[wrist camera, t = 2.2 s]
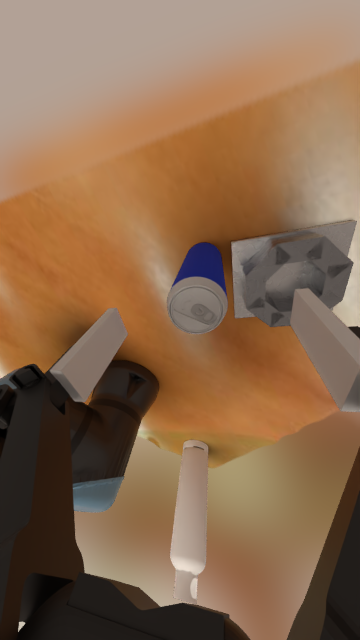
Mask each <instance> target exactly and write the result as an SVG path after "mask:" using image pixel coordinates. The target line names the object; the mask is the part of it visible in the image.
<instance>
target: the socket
mask: <svg viewBox="0 0 360 640" xmlns="http://www.w3.org/2000/svg"><path fill="white" fill-rule="evenodd" d="M356 223H357V221H355V220H349V221H343V222H337V223H332V224H326V225H320V226H314V227H309V228H303V229H297V230H291V231H286V232H280V233H274V234H269V235H263V236H257V237H251V238H246V239H240V240H234V241H231V254H232V276H233V297H234V316H235V318H245V317H258V318H259V319H260V320H262V321H263V322H265V323H266V324H267V325H269V326H270V327H277V326H291V325H290V320H291V313H292V306H293V299H294V293H295V289H304V288H309V289H310V290H311V291H312V292H313V293H314V294H315V295H316V296H317V297H318V298H319V299H320V300H321V301H322V302H323V303H324V304H325V305H326V306H327V307H328V308H329V309H330V310H331V311H332V310H333V307H334V306H335V305H336V304H338V303H339V302H341V301H342V300H343V296H344V293H345V289H346V286H347V283H348V279H349V276H350V273H351V269H352V266H353V262H352V261H351V260H350V259H349V258H348V257H347V256H348V252H349V248H350V245H351V241H352V237H353V234H354V230H355V226H356Z"/></svg>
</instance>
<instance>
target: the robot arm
mask: <svg viewBox="0 0 360 640" xmlns="http://www.w3.org/2000/svg"><path fill="white" fill-rule="evenodd" d="M290 325H291V327H292V329H293V330H294V332H295V334H296V335H297V337H298V339H299V341H300V342H301V344H302V346H303V348H304V349H305V351H306V353H307V354H308V356H309V358H310V360H311V361H312V363H313V365H314V367H315V368H316V370H317V372H318V373H319V375H320V377H321V379H322V380H323V382H324V384H325V385H326V387H327V389H328V391H329V392H330V394H331V396H332V398H333V399H334V401H335V403H336V404H337V406H338V408H339V410H340V411H348V412H349V411H350V412H360V327H358V326H355V327H347V326H346V325H345V324H344V323H343V322H342V321H341V320H340V319H339V318H338V317H337V316H336V315H335V314H334V313H333V312H332V311H331V310H330V309H329V308H328V307H327V306H326V305H325V304H324V303H323V302H322V301H321V300H320V299H319V298H318V297H317V296H316V295H315V294H314V293H313V292H312V291H311V290H310V289H309V288H304V289H295V293H294V299H293V306H292V313H291V320H290ZM127 335H128V333H127V331H126V328H125V326H124V324H123V322H122V319H121V317H120V315H119V312H118V310H117V308H110V309H108V310H107V311H106V312H105V313H104V314H103V315H102V316H101V317H100V318H99V319H98V320H97V321H96V322H95V323H94V324H93V325H92V326H91V328H90V329H89V330H88V331H87V332H86V333H85V334H84V335H83V336H82V337H81V338H80V339H79V340H78V341H77V342H76V343H75V344H74V345H73V346H71V347H70V348H69V349H68V350H67V351H66V352H65V354H63V355H62V356H61V357H60V359H58V361H57V362H56V363H55V364H54V365H53V366H52V367H51V368H50V369H49V370H48V371H47V372H46V373H45V374H44V373H43V372H42V371H41V370H40V369H39V368H38V366H37V365H35V364H30V365H27V366H24V367H22V368H19V369H16V370H14V371H12V372H10V373H9V374H7V375H6V376H4V377H3V378H1V379H0V640H250V638H249V637H248V636H247V635H246V633H245V632H244V631H243V630H242V629H241V628H240V627H239V626H238V625H237V624H236V623H234V622H233V621H232V620H231V619H229V614H226V613H223V612H219V611H215V610H212V609H209V608H206V607H202V606H199V605H194V604H187V603H179V604H175V605H169V606H164V607H160V606H159V605H158V604H157V603H156V602H154V601H153V600H152V599H151V598H150V597H149V596H148V595H147V594H145V593H144V592H143V591H142V590H141V589H140V588H139V587H135V586H132V585H129V584H125V583H122V582H118V581H115V580H111V579H107V578H103V577H98V576H94V575H90V574H86V573H84V564H83V559H82V555H81V552H80V550H79V548H78V546H77V543H76V540H75V523H74V511H81V512H103V511H106V510H107V509H109V508H110V507H111V506H112V504H113V503H114V501H115V498H116V496H117V493H118V490H119V488H120V485H121V483H122V480H123V479H124V473H125V470H126V467H127V464H128V461H129V457H130V454H131V451H132V448H133V445H134V442H135V439H136V436H137V432H138V429H139V426H140V423H141V420H142V418H143V417H144V415H145V414H146V413H147V411H148V410H149V408H150V407H151V405H152V404H153V403H154V401H155V399H156V397H157V394H158V390H159V385H158V381H157V379H156V378H155V376H154V375H153V374H152V373H151V372H150V371H148V370H147V369H146V368H144V367H142V366H140V365H138V364H136V363H133V362H129V361H112V362H111V360H112V359H113V357H114V356H115V354H116V352H117V351H118V349H119V348H120V346H121V345H122V343H123V341H124V340H125V338H126V337H127ZM93 389H94V390H93ZM92 390H93V394H92V398H91V401H90V403H89V404H88V405H86V404H85V403H83V402H85V401H86V400H87V398H88V397H89V395H90V393H91V392H92ZM22 621H23V622H25V625H24V626H23V627H22V628H21V629H20V631H19V632H18V626H19V622H22ZM287 640H360V447H359V450H358V453H357V456H356V459H355V461H354V464H353V467H352V470H351V472H350V475H349V478H348V481H347V483H346V486H345V489H344V492H343V494H342V497H341V500H340V503H339V505H338V508H337V511H336V514H335V517H334V519H333V522H332V525H331V528H330V531H329V533H328V536H327V539H326V541H325V544H324V547H323V550H322V553H321V555H320V558H319V561H318V564H317V567H316V569H315V572H314V575H313V577H312V580H311V583H310V586H309V589H308V591H307V594H306V596H305V599H304V601H303V604H302V605H301V607H300V609H299V611H298V613H297V615H296V618H295V620H294V622H293V625H292V627H291V630H290V632H289V635H288V638H287Z"/></svg>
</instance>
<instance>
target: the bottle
mask: <svg viewBox="0 0 360 640" xmlns="http://www.w3.org/2000/svg"><path fill="white" fill-rule="evenodd" d="M193 446H196V447H200V448H203V449H204V450H202V449H200V448H196V447H193ZM207 484H208V446H207V445H206V444H205V443H203V442H201V441H198V440H188V441H185V442H184V444H183V453H182V461H181V469H180V478H179V486H178V494H177V503H176V511H175V519H174V527H173V535H172V544H171V552H170V557H171V561H172V563H173V565H174V567H175V568H176V576H175V587H174V596H173V598H175V599H179V600H183V601H186V602H190V603H193V604H197V581H198V574H199V573H201V572H202V571H203V569H204V568H205V564H206V534H207V533H206V532H207Z"/></svg>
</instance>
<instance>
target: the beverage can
mask: <svg viewBox="0 0 360 640" xmlns="http://www.w3.org/2000/svg"><path fill="white" fill-rule="evenodd" d="M227 307H228V301H227V294H226V286H225V279H224V272H223V265H222V258H221V254H220V252H219V250H218V249H217V248H216V247H215V246H214V245H212V244H210V243H198V244H196V245H194V246H193V247H192V248H191V249H190V250H189V251H188V253H187V255H186V258H185V260H184V262H183V264H182V266H181V268H180V270H179V272H178V275H177V277H176V279H175V281H174V283H173V285H172V287H171V290H170V292H169V294H168V297H167V309H168V313H169V317H170V319H171V321H172V322H173V324H174V325H175V326H176V327H177V328H179V329H180V330H182V331H184V332H187V333H191V334H203V333H207V332H210V331H212V330H213V329H215V328H216V327H217V326H218V325H219V324H220V323H221V321H222V320H223V318H224V316H225V314H226V312H227Z"/></svg>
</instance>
